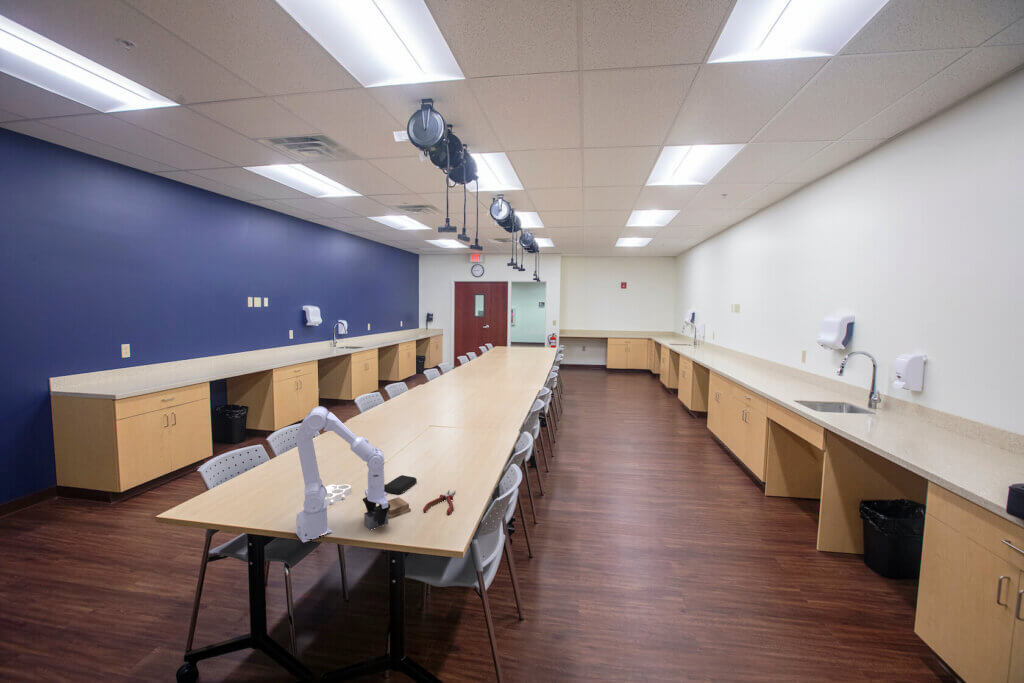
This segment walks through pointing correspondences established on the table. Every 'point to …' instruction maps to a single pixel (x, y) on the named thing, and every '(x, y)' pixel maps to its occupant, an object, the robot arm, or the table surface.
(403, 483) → the carrying case or bag
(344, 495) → the white brass knuckles
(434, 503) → the pliers
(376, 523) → the block
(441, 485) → the table surface
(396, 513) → the stand
